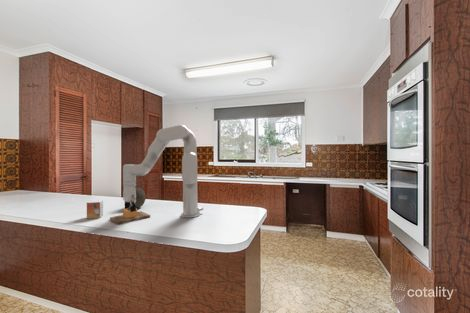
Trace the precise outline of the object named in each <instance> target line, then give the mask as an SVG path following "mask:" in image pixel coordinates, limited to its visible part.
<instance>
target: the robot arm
mask: <svg viewBox="0 0 470 313" xmlns="http://www.w3.org/2000/svg"><path fill="white" fill-rule="evenodd" d="M177 140H182V141H183V155H182V157H181V178H182V204H183V206H182V209H183V212H181V213H180V216H181V218H184V219H186V218H187V219H191V218H197V217H199V216H200V215H201V213H200V212H201V211H203V210H204V207H198V203H199V202H198V155H197V154H198V153H197V152H198V150H197V145H198V144H197V137H196V135H195V133H193V132H192V131H191V129H188V128H187V126H186V125H184V124H183V125H182V124H177V125H174V126H170V127H165V128H161V129H158V130H157V132H156V137H155V138H154V140H153V141H152V143H151V144H150V145H149V147H148V148H147V154H146V156H145V157H144V159H143V160H142V162H141V163H140V164H133V163H129V164H128V163H126V164H123V166H122V180H123V181H122V186H123V191H122V199H123V201H124V202H123V203H124V209H128V208H129V207H130V212H134V211H136V209H137V208H136V188H137V187H136V186H137V176H139V177H140V176H141V177H143V176H146V175H148V174H149V173H150V171H151V170H152V169H153V167H154V166H155V164H156V162H157V161H158V160H159V158H160V156H161V155H162V153H163V151H164V150H165V149H166V147H167V146H168V144H169V143H170V142H172V141H177ZM130 204H131V205H130Z"/></svg>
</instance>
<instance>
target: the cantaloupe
mask: <svg viewBox="0 0 470 313" xmlns="http://www.w3.org/2000/svg"><path fill="white" fill-rule="evenodd" d="M135 188H136V209H140V208H141V207H143V206H144V204H145V202H146V198H147V197H146V193H145V191H144V190H143V189H142V188H137V187H135ZM130 205H131V204H130Z"/></svg>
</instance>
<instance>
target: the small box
mask: <svg viewBox="0 0 470 313" xmlns="http://www.w3.org/2000/svg"><path fill="white" fill-rule="evenodd" d="M102 217H104V200H89V201H87V202H86V219H100V218H102Z"/></svg>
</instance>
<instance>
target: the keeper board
mask: <svg viewBox="0 0 470 313" xmlns="http://www.w3.org/2000/svg"><path fill="white" fill-rule="evenodd" d="M129 210H130V207H129V208H128V211H129ZM137 214H138V216H136V217H131V218H125V217H123V214H121V215H115V216H111V217H109V221H111V222H113V223H114V224H115V225H116V226H117V225H123V224H128V223H131V222H136V221H140V220H145V219H149V218H151V214H148V213H146V212H144V211H141V210H140V211H137Z"/></svg>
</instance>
